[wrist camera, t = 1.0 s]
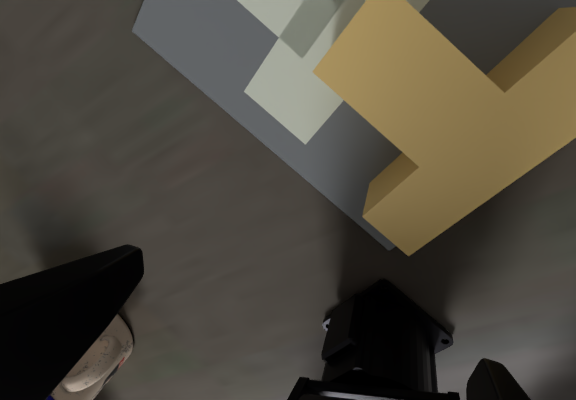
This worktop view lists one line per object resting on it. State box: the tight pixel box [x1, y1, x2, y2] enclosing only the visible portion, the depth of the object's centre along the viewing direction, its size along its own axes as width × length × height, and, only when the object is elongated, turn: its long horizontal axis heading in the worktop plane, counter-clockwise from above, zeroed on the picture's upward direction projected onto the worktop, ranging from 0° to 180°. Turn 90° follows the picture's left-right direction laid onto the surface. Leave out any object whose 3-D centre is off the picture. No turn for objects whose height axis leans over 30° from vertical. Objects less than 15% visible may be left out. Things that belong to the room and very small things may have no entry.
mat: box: [132, 0, 576, 251], centre depth 17 cm, size 20×16×1 cm
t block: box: [312, 0, 576, 256], centre depth 15 cm, size 9×11×4 cm
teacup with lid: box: [46, 314, 133, 400], centre depth 30 cm, size 12×9×12 cm
